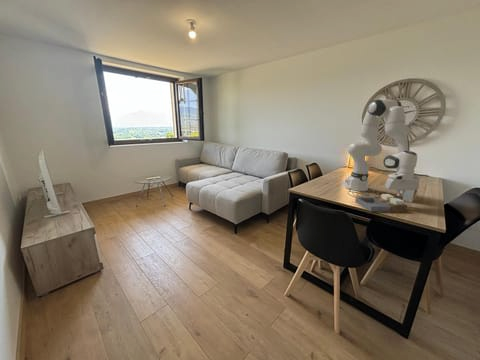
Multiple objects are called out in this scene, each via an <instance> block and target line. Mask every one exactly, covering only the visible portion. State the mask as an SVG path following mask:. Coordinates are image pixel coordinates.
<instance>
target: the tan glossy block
mask: <svg viewBox="0 0 480 360" xmlns="http://www.w3.org/2000/svg"><path fill="white" fill-rule="evenodd" d="M374 198H376V199H378V200H380V201H382V202H384V203H385V204H387V205H389V206H391V209H390V213H392V212H397V213H401V212H403V213H405V212H407V211H408V207H409V205H407V204H405V203H404V205H395V204H393V203H391V202H390V200H385V199H383V198H381V196H374Z"/></svg>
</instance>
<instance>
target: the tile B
mask: <svg viewBox="0 0 480 360" xmlns="http://www.w3.org/2000/svg"><path fill="white" fill-rule="evenodd" d="M390 202H391V203H393V204H395V205H404V204H405V201H404V200H402V199H400V198H397V197H396V198H395V197H394V198H390Z"/></svg>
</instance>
